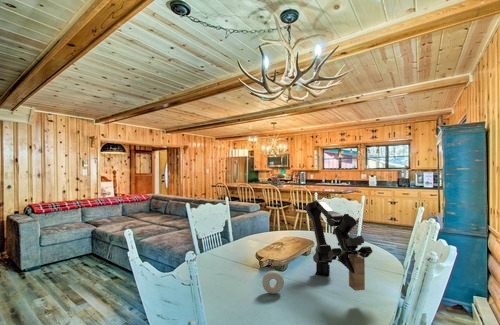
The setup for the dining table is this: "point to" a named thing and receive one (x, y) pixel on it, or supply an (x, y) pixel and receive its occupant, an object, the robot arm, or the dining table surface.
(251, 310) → the dining table surface
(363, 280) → the walnut block
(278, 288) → the donut
